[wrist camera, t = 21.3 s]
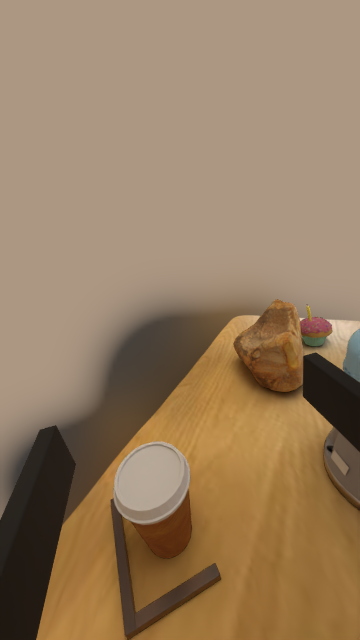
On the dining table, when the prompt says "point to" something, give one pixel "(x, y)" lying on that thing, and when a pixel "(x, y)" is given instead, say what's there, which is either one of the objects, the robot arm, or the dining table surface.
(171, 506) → the disposable coffee cup
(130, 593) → the walnut frame
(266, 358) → the rough brown rock
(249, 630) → the dining table surface
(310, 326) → the cupcake
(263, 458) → the dining table surface
